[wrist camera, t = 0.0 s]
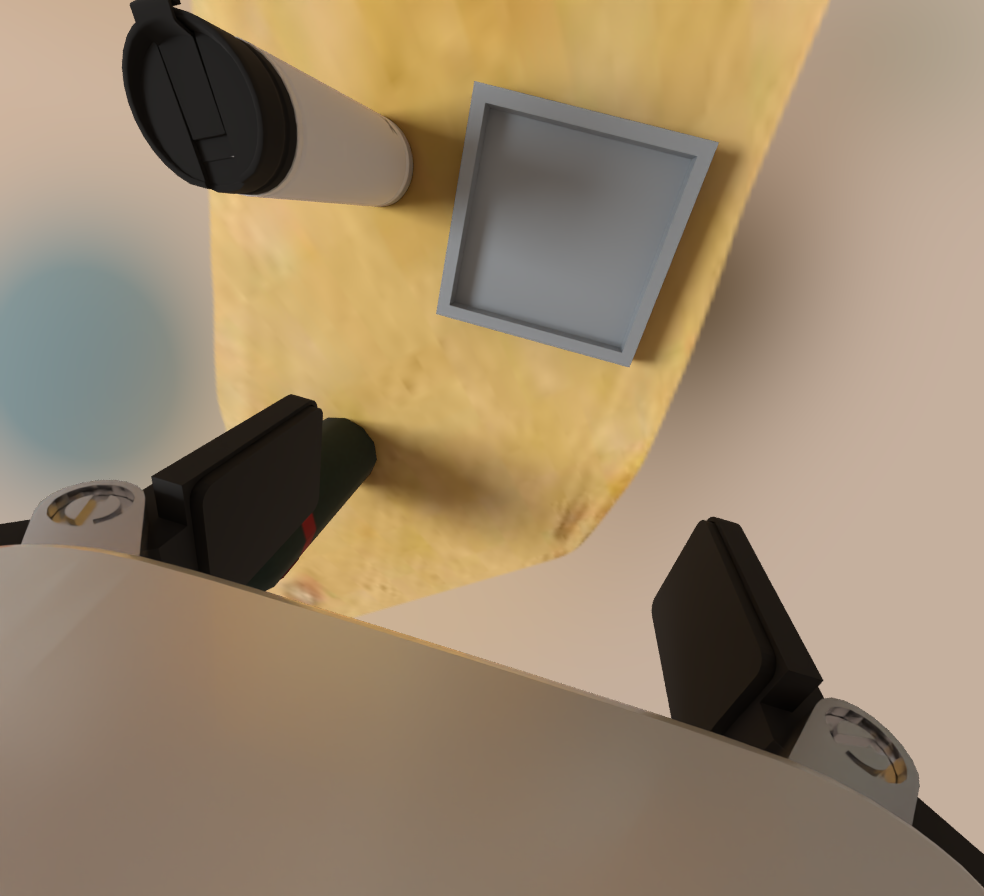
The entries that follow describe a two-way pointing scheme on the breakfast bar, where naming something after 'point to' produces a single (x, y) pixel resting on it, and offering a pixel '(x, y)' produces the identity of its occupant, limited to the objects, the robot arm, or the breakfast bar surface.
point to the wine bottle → (324, 493)
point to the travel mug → (253, 117)
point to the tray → (566, 222)
